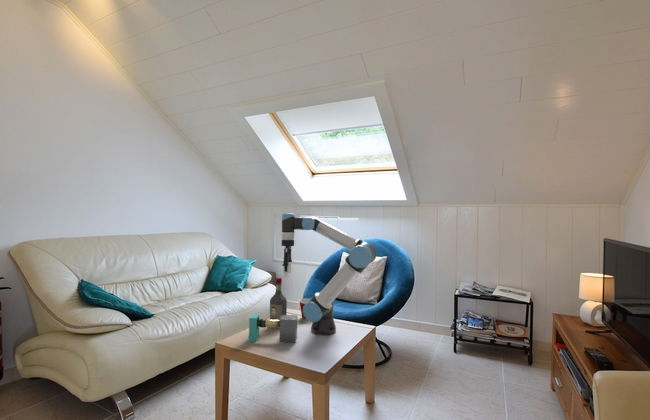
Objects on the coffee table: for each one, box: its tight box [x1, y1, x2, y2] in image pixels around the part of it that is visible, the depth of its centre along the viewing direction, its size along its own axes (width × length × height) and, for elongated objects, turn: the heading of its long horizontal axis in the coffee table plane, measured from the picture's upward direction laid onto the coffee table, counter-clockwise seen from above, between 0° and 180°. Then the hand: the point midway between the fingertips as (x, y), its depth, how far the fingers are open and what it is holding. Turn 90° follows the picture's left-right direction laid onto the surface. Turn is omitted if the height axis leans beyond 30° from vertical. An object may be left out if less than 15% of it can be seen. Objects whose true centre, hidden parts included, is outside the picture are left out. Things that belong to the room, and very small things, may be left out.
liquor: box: [269, 277, 288, 329], centre depth 217 cm, size 9×9×30 cm
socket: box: [248, 313, 260, 343], centre depth 194 cm, size 4×8×13 cm, turn 179°
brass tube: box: [257, 318, 280, 329], centre depth 194 cm, size 18×5×5 cm, turn 89°
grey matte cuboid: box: [278, 314, 298, 344], centre depth 194 cm, size 9×8×13 cm
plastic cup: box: [298, 298, 311, 320], centre depth 234 cm, size 11×11×12 cm
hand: (287, 275), depth 204 cm, fingers open, 13 cm apart
